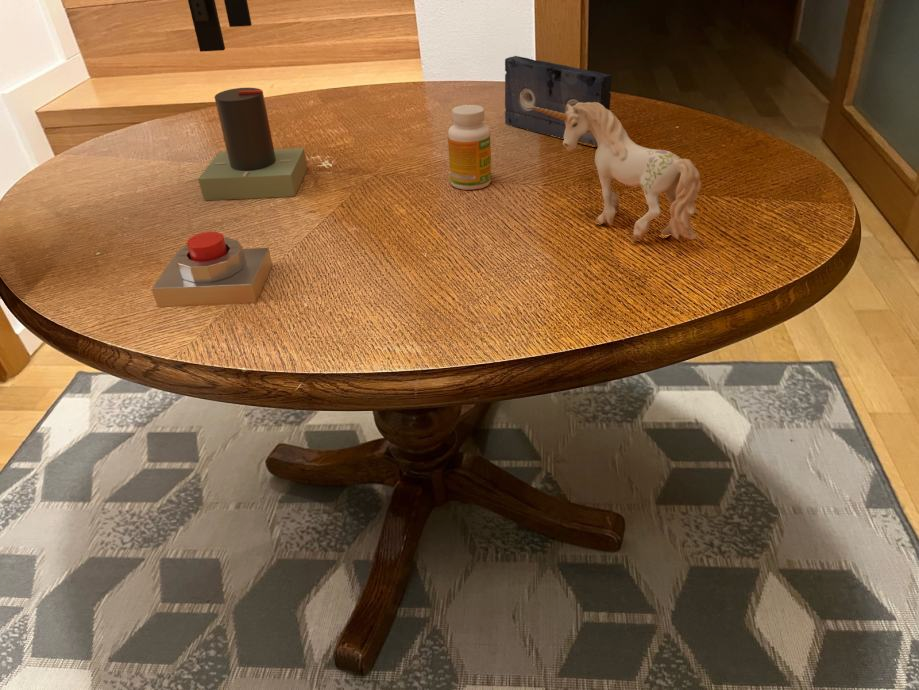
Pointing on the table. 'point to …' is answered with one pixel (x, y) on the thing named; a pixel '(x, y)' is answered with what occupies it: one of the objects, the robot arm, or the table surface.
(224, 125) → the dial
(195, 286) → the button box
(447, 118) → the table surface
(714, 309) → the table surface
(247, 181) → the dial panel
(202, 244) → the button
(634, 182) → the unicorn figurine
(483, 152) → the supplement bottle
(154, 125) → the table surface
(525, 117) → the vhs cassette tape
